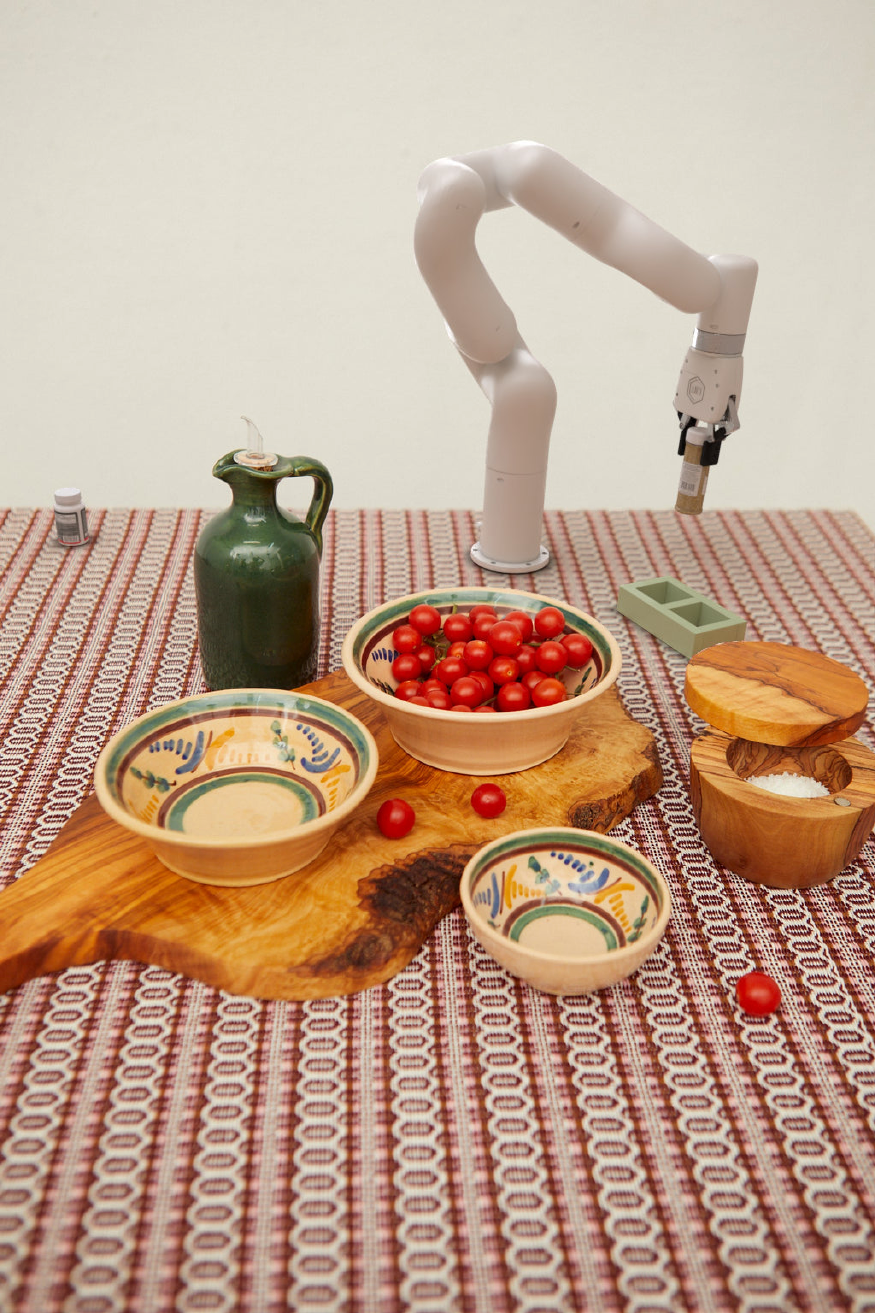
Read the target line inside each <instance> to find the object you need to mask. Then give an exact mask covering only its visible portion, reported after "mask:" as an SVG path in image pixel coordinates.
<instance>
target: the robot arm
mask: <svg viewBox="0 0 875 1313" xmlns="http://www.w3.org/2000/svg"><path fill="white" fill-rule="evenodd" d="M415 193H416V199H417V202H418V206H419V207H420V208H419V209H418V210H419V211H418V213H417V216H416V219H415V222H414V227H413V237H412V249H413V250H412V251H413V258H414V261H415V262H414V263H415V266H416V268H417V270H418V273H419V275H420V277H421V279H422V282H423V284H424V285H425V287H426V289H427V290H428V293H429V294H430V296H431V298H432V300H433V302H434V303H435V306H436V308H437V309H438V311H439V312H440V314H441V316H442V318H443V319H444V320H443V322H444V327H445V331H446V334H447V335H448V337H449V339H450V341H451V342H452V344H453V346H454V348H455V349H456V351H457V352H458V355H459V356H460V357H461V359H462V361H463V362H464V364H465V366H466V367H467V369H468V371H469V372H470V374H471V375H472V377H473V378H474V380H475V382H476V384H477V385H478V387H479V389H480V390H481V392H482V394H483V395H484V396H485V398H486V399H487V401H488V402H489V404H490V408H491V410H490V420H489V426H488V432H487V438H486V449H485V471H484V472H485V473H484V486H483V503H482V520H481V521H477V522H476V523H475V525H474V528H475V529H476V530H477V531H478V532H480V533H479V541H476V542H475V543H474V544H472V546H471V548H470V560H472V562H473V563H475V564H476V565H478V566H480V567H481V568H484V569H486V570H489V571H493V572H498V573H505V574H526V573H533V572H535V571H539V570H541V569H543V568H545V566H547V565H548V564H549V561H550V551H549V550H548V548H546V547H545V546H544V545H543V544H542V531H543V521H544V511H545V499H546V498H545V497H546V487H547V478H548V462H549V454H550V453H549V452H550V444H551V436H552V430H553V426H554V422H555V418H556V412H557V407H558V392H557V387H556V384H555V382H554V379H553V377H552V375H551V373H550V372H549V371H548V370H547V368H546V367H545V366H544V365H543V364H542V363H541V362H540V361H539V360H538V359H537V358H536V357H535V356H534V355H533V353H532V352H531V350H530V348H529V347H528V346H527V344H526V342H525V340H524V338H523V337H522V334H521V333H520V331H519V329H518V324H517V320H516V317H515V314H514V312H513V310H512V308H511V307H510V305H509V304H508V302H506V300H504V298H503V296H502V294H501V293H500V291H499V289H498V287H497V285H496V284H495V283H494V281H493V279H492V277H491V275H490V273H489V272H488V270H487V267H486V266H485V264H484V261H483V260H482V258H481V257H480V254H479V252H478V248H477V246H476V232H477V227H478V225H479V224H480V223H479V222H480V221H481V219H482V216H483V215H484V214H488V213H492V212H496V211H500V210H504V209H508V208H513V207H516V206H517V207H518V208H520V209H521V210H523V211H524V212H525V213H527V214H528V215H530V216H531V217H533V218H534V219H536V220H537V221H539V223H542V224H543V225H545V226H546V227H547V228H549V229H550V230H552V231H553V232H554V233H557V234H558V235H560V237H563V238H564V239H565V240H567V241H568V242H570V243H571V244H572V245H574V246H575V247H577V249H580V250H581V251H582V252H584V253H585V254H588V255H589V256H590V257H592V258H593V259H595V260H597V261H599V262H600V263H602V264H604V265H606V266H608V267H610V268H613V269H615V270H617V271H618V272H620V273H622V274H625V275H626V276H627V277H629V278H631V279H632V280H634V281H635V282H637V283H639V284H640V285H641V286H643V287H644V288H646V289H648V290H649V291H650V292H651V293H652V294H653V296H655V297H656V298H657V299H658V300H660V301H662V302H664V303H665V304H667V305H669V306H671V307H672V308H674V309H675V310H677V311H679V312H680V313H683V314H686V315H694V314H695V315H696V314H697V315H696V321H695V327H694V329H693V331H692V335H693V337H692V338H693V339H692V344H691V345H689V346H688V347H687V350H686V352H685V355H684V358H683V361H682V364H681V367H680V371H679V375H678V379H677V384H676V388H675V393H674V397H673V398H674V399H673V400H672V405H673V408H674V409H675V411H676V414H677V418H678V421H679V424H678V428H679V430H680V435H679V441H678V448H677V456H680V457H684V454H685V448H686V436H687V430H688V429H689V428H690V427H699V426H698V425H699V423H700V421H701V422H703V423H706V424H707V426H706V428H707V440H706V441H704V443H703V448H702V453H701V459H700V465H701V466H710V467H711V466H717V465H718V463H719V460H720V454H721V449H722V443H723V442H724V441H726V440H727V438H728V437H729V436H730V435H732V434H733V433H735V432H736V431H738V430H740V429H741V423H740V420H739V414H738V412H739V408H740V402H741V397H742V390H743V382H744V381H743V379H744V364H745V362H744V356H743V352H744V348H745V342H746V337H747V332H748V326H749V322H750V316H751V311H752V305H753V300H754V295H755V290H756V286H757V280H758V276H759V263H758V261H757V260H756V259H755V258H753V257H752V256H751V257H750V256H748V255H742V254H736V253H716V254H707V253H701V252H698V251H697V250H695V249H693V248H692V247H691V246H689V245H688V244H686V243H685V242H683V241H682V240H680V238H678V237H676V236H675V235H674V234H672V233H670V232H669V231H668V230H666V229H665V228H663V227H662V226H660V225H659V224H658V223H656V222H654V221H653V220H652V219H650V218H649V217H648V216H647V215H646V214H644V213H643V212H642V211H641V210H639V209H638V208H637V207H635V206H634V205H633V204H631V203H630V202H628V201H627V200H626V199H625V198H623V197H621V196H620V195H619V194H617V193H616V192H614V191H613V190H611V189H610V188H608V187H607V186H606V185H604V184H603V183H601V181H599V180H598V179H596V178H594V177H593V176H592V175H590V174H589V173H588V172H586V171H585V170H583V169H582V168H581V167H579V166H577V165H576V164H575V163H573V162H572V161H571V160H569V159H568V158H567V157H565V156H564V155H562V153H559V151H557V150H555V149H553V148H552V147H550V146H547V145H545V144H543V143H540V142H536V141H533V140H525V139H524V140H518V141H514V142H513V141H512V142H509V143H504V144H500V145H496V146H492V147H487V148H483V149H478V150H474V151H468V152H464V153H460V154H455V155H450V156H445V157H442V158H438V159H436V160H434V161H432V162H430V163H429V164H428V165H427V166H425V168H424V169H423V170H422V171H421V173H420V174H419V177H418V178H417V184H416V192H415ZM716 426H718V427H717V428H718V429H716Z"/></svg>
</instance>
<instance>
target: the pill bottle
mask: <svg viewBox="0 0 875 1313" xmlns="http://www.w3.org/2000/svg"><path fill="white" fill-rule="evenodd" d="M53 495H54V496H53V497H54V501H55V502H54V504H53V513H54V520H55V527H56V534H57V540H58V543H59V544H60V545H62V546H65V547H78V546H81V545H85V544H86V543H87V542H89V540H90V535H89V527H88V519H87V518H88V517H87V510H86V505H85V502H84V501H83V500H82V498H83V496H82V491H81V489H79V488H77V487H62V488H58V489H56V490H54V492H53Z"/></svg>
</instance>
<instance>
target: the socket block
mask: <svg viewBox="0 0 875 1313" xmlns="http://www.w3.org/2000/svg"><path fill="white" fill-rule="evenodd" d="M617 594H618V595H617V603H616V611H617V612H618V613H620V614H621V615H623V616H624V617H625V618H627V619H629V621H632V622H633V623H635V624H636V625H638V626H639V627H641V629H643V630H645V631H647V633H649V634H651V635H653V636H654V637H655V638H657V639H658V640H660V641H661V642H663V643H664V644H666V645H668V646H669V647H671V648H672V649H673V650H675V651H676V652H677V653H679V654H681V655H682V656H684V657H685V658H687V659H688V660H690V658H691V657H692V656H693V655H694V654H697V653H698V652H700V651H701V650H703V649H705V648H708V647H711V646H713V645H714V644H718V643H722V642H731V641H742V640H744V641H745V637H746V632H747V626H748V621H747V620H746V619H744V618H742V617H740V616H739V615H737V614H736V613H734V612H732V611H731V610H729V609H728V608H725V607H724V606H723V605H721V604H719V603H717V602H716V601H714V600H712V599H710V598H709V597H707V596H706V595H704V594H702V593H700V592H698V591H697V590H695V589H693V588H692V587H690V586H688V585H687V584H685V583H683V582H682V581H680V580H678V579H677V578H675V577H673V576H672V575H670V574H668V575H664V576H663V575H662V576H657V577H653V578H649V579H644V580H639V581H634V582H630V583H624V584H620V585H619V586H618V593H617Z"/></svg>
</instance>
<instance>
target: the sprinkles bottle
mask: <svg viewBox="0 0 875 1313" xmlns="http://www.w3.org/2000/svg"><path fill="white" fill-rule="evenodd" d="M706 440H707V426H697V427H690V428H689V429H688V430H687V436H686V448H685V454H684V456H683V459H682V464H681V470H680V475H679V481H678V486H677V494H676V501H675V504H674V510H675V511H676V512H677V513H679V514H682V515H685V516H698V515H700V514H702V513H703V511H704V509H703V507H704V502H705V496H706V493H707V487H708V481H709V474H710V470H711V466H701V465H700V459H701V453H702V448H703V443H704V441H706Z"/></svg>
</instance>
